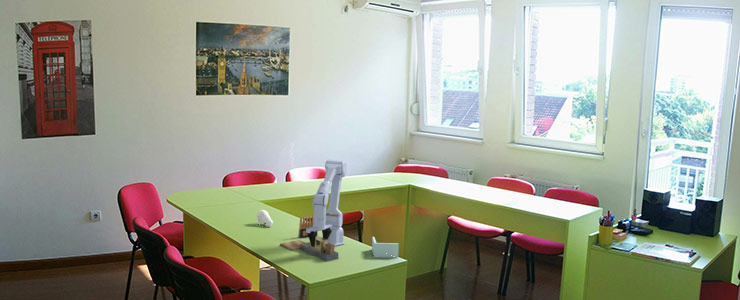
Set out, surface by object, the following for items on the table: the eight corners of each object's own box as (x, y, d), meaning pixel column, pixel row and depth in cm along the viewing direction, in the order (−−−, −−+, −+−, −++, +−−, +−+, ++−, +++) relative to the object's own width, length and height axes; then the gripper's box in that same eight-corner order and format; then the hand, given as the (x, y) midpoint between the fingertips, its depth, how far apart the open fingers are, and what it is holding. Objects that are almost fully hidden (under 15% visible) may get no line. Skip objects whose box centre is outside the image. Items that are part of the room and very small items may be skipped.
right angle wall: (398, 258, 278) (398, 243, 277) (373, 258, 277) (374, 243, 276) (395, 251, 289) (395, 237, 288) (371, 251, 288) (372, 236, 288)
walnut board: (299, 241, 298) (299, 240, 298) (311, 246, 290) (311, 244, 290) (279, 245, 290) (279, 243, 290) (292, 250, 282) (292, 248, 282)
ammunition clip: (299, 238, 303) (300, 216, 302) (298, 237, 305) (298, 215, 304) (317, 236, 309) (318, 214, 308) (316, 235, 311) (316, 214, 309)
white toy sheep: (265, 208, 332) (276, 214, 324) (264, 222, 334) (275, 228, 326) (256, 209, 328) (267, 215, 320) (255, 223, 330) (266, 229, 321)
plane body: (311, 247, 288) (311, 234, 287) (338, 258, 272) (338, 244, 271) (299, 250, 283) (300, 236, 282) (326, 261, 267) (327, 247, 266)
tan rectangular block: (316, 245, 282) (317, 235, 281) (328, 249, 275) (328, 239, 274) (309, 246, 279) (309, 237, 278) (320, 251, 272) (321, 241, 271)
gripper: (325, 214, 283) (325, 240, 285) (302, 218, 273) (302, 245, 274) (335, 217, 278) (334, 244, 280) (311, 221, 268) (311, 249, 269)
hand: (318, 245), depth 277 cm, fingers open, 7 cm apart
